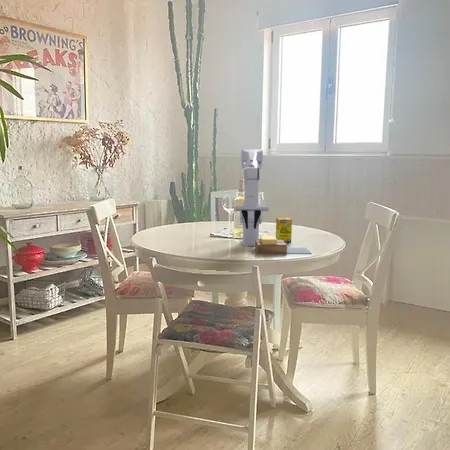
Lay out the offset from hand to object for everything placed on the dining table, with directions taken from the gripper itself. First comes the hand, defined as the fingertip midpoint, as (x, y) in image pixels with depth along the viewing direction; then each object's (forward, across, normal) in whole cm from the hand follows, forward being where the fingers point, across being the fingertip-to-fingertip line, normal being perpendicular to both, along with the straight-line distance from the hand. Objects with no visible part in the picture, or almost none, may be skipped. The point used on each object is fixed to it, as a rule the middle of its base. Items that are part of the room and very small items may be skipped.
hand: (250, 228), depth 202 cm
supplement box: (+10, +18, +21) cm, 29 cm away
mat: (+10, +20, +1) cm, 22 cm away
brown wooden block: (+10, +8, 0) cm, 13 cm away
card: (+6, +8, 0) cm, 10 cm away
